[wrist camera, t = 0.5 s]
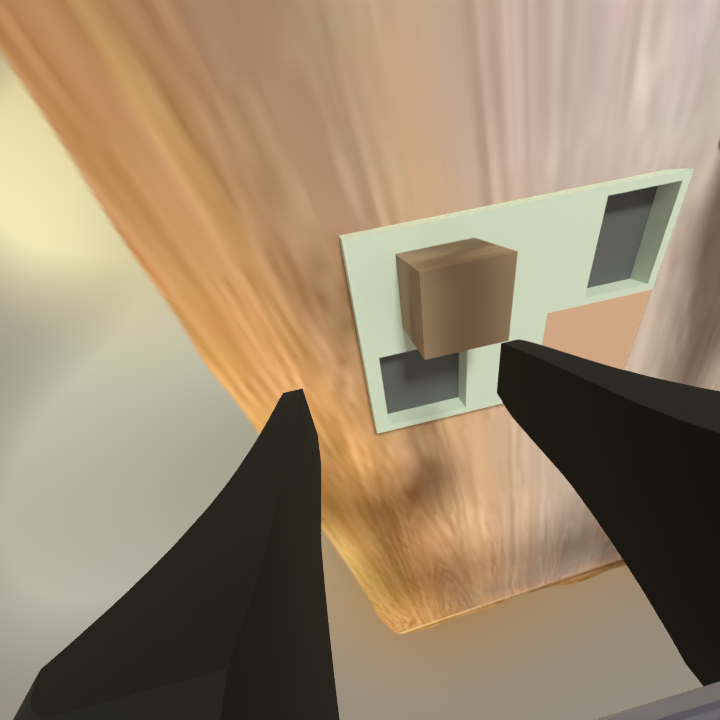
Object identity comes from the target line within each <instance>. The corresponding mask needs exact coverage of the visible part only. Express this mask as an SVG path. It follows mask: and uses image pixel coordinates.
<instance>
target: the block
mask: <svg viewBox="0 0 720 720" xmlns="http://www.w3.org/2000/svg"><path fill="white" fill-rule="evenodd" d="M395 255H396V265H397V275H398V285H399V295H400V305H401V315H402V325H403V329H404V331H405V332H406V333H407V335H408V336H409V338H410V339H411V341H412V342H413V344H414V345H415V346H416V348H417V349H418V351H419V352H420V354H421V355H422V357H423V358H424V359H425V360H427V359H431V358H435V357H440V356H444V355H448V354H453V353H457V352H461V351H466V350H470V349H475V348H479V347H483V346H488V345H492V344H496V343H501V342H505V341H509V332H510V322H511V313H512V303H513V293H514V284H515V274H516V264H517V255H518V251H515V250H512V249H508V248H505V247H502V246H499V245H496V244H493V243H490V242H486V241H483V240H480V239H477V238H470V239H465V240H460V241H456V242H451V243H446V244H441V245H436V246H431V247H427V248H422V249H417V250H412V251H407V252H403V253H398V254H395Z"/></svg>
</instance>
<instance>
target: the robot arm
mask: <svg viewBox="0 0 720 720" xmlns="http://www.w3.org/2000/svg"><path fill="white" fill-rule="evenodd" d="M497 394H498V396H499V397H500V399H501V400H502V402H503V404H504V405H505V407H506V408H507V410H508V411H509V413H510V414H511V415H512V417H513V418H514V419H515V421H516V422H517V423H518V424H519V425H520V426H521V428H522V429H523V430H524V431H525V432H526V433H527V434H528V436H529V437H530V438H531V439H532V440H533V441H534V442H535V443H536V445H537V446H538V447H539V448H540V449H541V450H542V451H543V453H544V454H545V455H546V456H547V457H548V458H549V459H550V460H551V462H552V463H553V464H554V465H555V466H556V467H557V468H558V469H559V471H560V472H561V473H562V474H563V475H564V477H565V478H566V479H567V480H568V481H569V483H570V484H571V485H572V486H573V488H574V489H575V491H576V492H577V493H578V495H579V496H580V497H581V499H582V500H583V502H584V503H585V504H586V506H587V507H588V509H589V510H590V511H591V513H592V514H593V515H594V517H595V518H596V520H597V521H598V523H599V524H600V526H601V527H602V529H603V530H604V531H605V533H606V534H607V536H608V537H609V539H610V540H611V542H612V543H613V545H614V546H615V548H616V549H617V551H618V552H619V554H620V555H621V557H622V558H623V560H624V562H625V563H626V565H627V566H628V568H629V569H630V571H631V572H632V574H633V575H634V577H635V579H636V580H637V582H638V583H639V585H640V586H641V588H642V590H643V591H644V593H645V594H646V596H647V598H648V600H649V601H650V603H651V605H652V606H653V608H654V610H655V611H656V613H657V615H658V616H659V618H660V620H661V622H662V623H663V625H664V627H665V628H666V630H667V632H668V633H669V635H670V637H671V638H672V640H673V642H674V644H675V645H676V647H677V649H678V651H679V653H680V654H681V656H682V658H683V660H684V661H685V663H686V665H687V666H688V667H689V668H690V670H691V671H692V672H693V673H694V675H695V676H696V677H697V679H698V680H699V681H700V682H701V684H702V685H703V687H700V688H697V689H694V690H691V691H687V692H684V693H681V694H678V695H674V696H671V697H668V698H664V699H661V700H658V701H655V702H651V703H648V704H645V705H641V706H638V707H635V708H632V709H628V710H625V711H622V712H619V713H616V714H613V715H609V716H606V717H602V718H599V719H596V720H720V391H715V390H709V389H704V388H699V387H694V386H689V385H684V384H680V383H675V382H671V381H666V380H661V379H657V378H653V377H649V376H645V375H641V374H637V373H633V372H630V371H626V370H622V369H618V368H615V367H611V366H608V365H604V364H601V363H598V362H594V361H591V360H588V359H584V358H581V357H578V356H575V355H572V354H568V353H565V352H562V351H559V350H556V349H553V348H549V347H546V346H543V345H540V344H536V343H533V342H529V341H525V340H520V339H518V340H513V341H509V342H505V343H501V350H500V362H499V373H498V384H497ZM337 705H338V704H337V696H336V688H335V679H334V671H333V662H332V652H331V643H330V634H329V624H328V615H327V605H326V595H325V584H324V572H323V561H322V549H321V460H320V450H319V442H318V435H317V432H316V429H315V426H314V423H313V420H312V416H311V413H310V410H309V407H308V404H307V401H306V398H305V395H304V392H303V389H299V390H295V391H290V392H286V393H283V395H282V396H281V398H280V399H279V401H278V403H277V405H276V407H275V409H274V411H273V412H272V414H271V416H270V418H269V420H268V421H267V423H266V425H265V427H264V428H263V430H262V432H261V433H260V435H259V437H258V439H257V440H256V442H255V443H254V445H253V447H252V448H251V450H250V451H249V453H248V454H247V456H246V457H245V459H244V460H243V462H242V463H241V465H240V466H239V468H238V469H237V471H236V472H235V474H234V475H233V476H232V478H231V479H230V481H229V482H228V483H227V485H226V486H225V487H224V488H223V490H222V491H221V492H220V493H219V495H218V496H217V497H216V498H215V500H214V501H213V502H212V504H211V505H210V506H209V507H208V508H207V509H206V511H205V512H204V513H203V514H202V515H201V516H200V517H199V518H198V519H197V521H196V522H195V523H194V524H193V525H192V526H191V527H190V528H189V530H188V531H187V532H186V533H185V534H184V535H183V536H182V538H180V539H179V541H178V542H177V543H176V544H175V545H174V546H173V547H172V548H171V549H170V550H169V551H168V552H167V553H166V554H165V555H164V556H163V557H162V558H161V559H160V560H159V561H158V562H157V564H155V565H154V566H153V567H152V569H150V571H148V572H147V574H145V575H144V576H143V577H142V578H141V579H140V580H139V581H138V582H137V583H136V584H135V585H134V586H133V587H132V588H131V589H130V590H129V591H128V592H127V593H126V594H125V595H124V596H122V597H121V598H120V599H119V600H118V601H117V602H116V603H115V604H114V605H113V606H112V607H111V608H110V609H109V610H107V611H106V612H105V613H104V614H103V615H102V616H101V617H100V618H98V620H96V621H95V622H94V623H93V624H92V625H91V626H89V627H88V628H87V629H86V630H85V631H84V632H83V633H82V634H81V635H80V636H78V637H77V638H76V639H75V640H74V641H73V642H72V643H70V645H69V646H67V647H66V648H65V649H64V650H63V651H62V652H60V653H59V654H58V655H57V656H56V657H55V658H54V659H52V660H51V661H50V662H49V663H48V664H47V665H45V666H44V667H43V668H42V669H41V670H40V672H39V674H38V675H37V677H36V679H35V681H34V683H33V684H32V686H31V688H30V690H29V692H28V693H27V695H26V697H25V699H24V701H23V703H22V705H21V706H20V708H19V710H18V712H17V714H16V716H15V718H14V719H13V720H339V713H338V706H337Z"/></svg>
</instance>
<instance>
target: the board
mask: <svg viewBox="0 0 720 720" xmlns="http://www.w3.org/2000/svg"><path fill="white" fill-rule="evenodd" d="M693 171H694V168H692V169H666V170H661V171H656V172H652V173H647V174H642V175H637V176H632V177H627V178H622V179H617V180H612V181H607V182H602V183H597V184H592V185H587V186H582V187H577V188H572V189H567V190H563V191H558V192H553V193H548V194H543V195H538V196H533V197H528V198H523V199H518V200H513V201H508V202H503V203H498V204H493V205H488V206H483V207H478V208H474V209H469V210H464V211H459V212H454V213H449V214H444V215H439V216H434V217H429V218H424V219H419V220H414V221H409V222H404V223H399V224H394V225H389V226H385V227H380V228H375V229H370V230H365V231H360V232H355V233H350V234H345V235H340V236H339V240H340V245H341V251H342V256H343V261H344V267H345V272H346V277H347V283H348V288H349V293H350V299H351V304H352V309H353V315H354V320H355V325H356V331H357V336H358V341H359V347H360V352H361V358H362V363H363V368H364V374H365V379H366V384H367V390H368V395H369V400H370V406H371V411H372V416H373V421H374V425H375V428H376V431H377V434H378V433H382V432H386V431H390V430H395V429H399V428H403V427H407V426H411V425H415V424H420V423H424V422H428V421H432V420H436V419H440V418H445V417H449V416H453V415H457V414H461V413H465V412H469V411H474V410H478V409H482V408H486V407H490V406H494V405H499V404H503V402H502V400H501V399H500V397H499V396H498V394H497V384H498V373H499V362H500V350H501V343H505V342H509V341H513V340H518V339H520V340H525V341H529V342H533V343H536V344H540V345H543V346H546V347H549V348H553V349H556V350H559V351H562V352H565V353H568V354H572V355H575V356H578V357H581V358H584V359H588V360H591V361H594V362H598V363H601V364H604V365H608V366H611V367H615V368H618V369H622V370H625V367H626V364H627V361H628V358H629V355H630V352H631V350H632V347H633V344H634V341H635V338H636V335H637V332H638V329H639V326H640V324H641V321H642V318H643V315H644V312H645V309H646V306H647V303H648V301H649V298H650V295H651V292H652V289H653V286H654V283H655V280H656V277H657V275H658V272H659V269H660V266H661V263H662V260H663V257H664V254H665V251H666V249H667V246H668V243H669V240H670V237H671V234H672V231H673V228H674V226H675V223H676V220H677V217H678V214H679V211H680V208H681V205H682V202H683V200H684V197H685V194H686V191H687V188H688V185H689V182H690V179H691V177H692V174H693ZM470 238H477V239H480V240H483V241H486V242H490V243H493V244H496V245H499V246H502V247H505V248H508V249H512V250H515V251H518V255H517V264H516V274H515V284H514V293H513V303H512V313H511V322H510V332H509V341H505V342H501V343H496V344H492V345H488V346H483V347H479V348H475V349H470V350H466V351H461V352H457V353H453V354H448V355H444V356H440V357H435V358H431V359H427V360H425V359H424V358H423V357H422V355H421V354H420V352H419V351H418V349H417V348H416V346H415V345H414V344H413V342H412V341H411V339H410V338H409V336H408V335H407V333H406V332H405V331H404V329H403V325H402V315H401V305H400V295H399V285H398V275H397V265H396V255H395V254H398V253H403V252H407V251H412V250H417V249H422V248H427V247H431V246H436V245H441V244H446V243H451V242H456V241H460V240H465V239H470Z"/></svg>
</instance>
